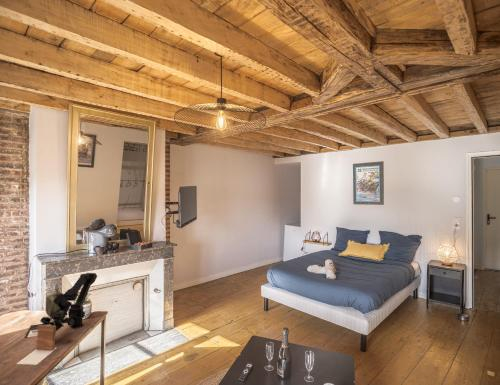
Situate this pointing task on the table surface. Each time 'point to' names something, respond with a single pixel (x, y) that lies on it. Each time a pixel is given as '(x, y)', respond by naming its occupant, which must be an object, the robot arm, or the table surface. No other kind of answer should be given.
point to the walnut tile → (46, 337)
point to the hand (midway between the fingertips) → (50, 335)
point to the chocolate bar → (33, 330)
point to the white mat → (35, 357)
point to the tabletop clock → (52, 302)
